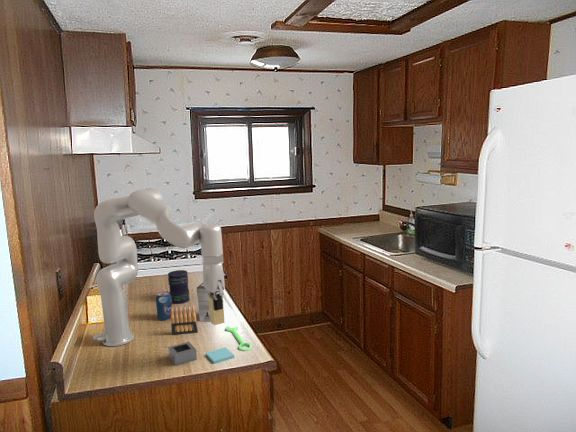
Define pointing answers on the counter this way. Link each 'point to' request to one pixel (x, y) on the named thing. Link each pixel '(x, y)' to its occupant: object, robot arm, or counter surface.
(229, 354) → the teal board
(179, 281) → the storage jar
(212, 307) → the brass peg
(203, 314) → the coffee box
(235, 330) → the wrench
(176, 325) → the ammunition clip
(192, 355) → the socket block
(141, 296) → the counter surface
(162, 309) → the soda can
